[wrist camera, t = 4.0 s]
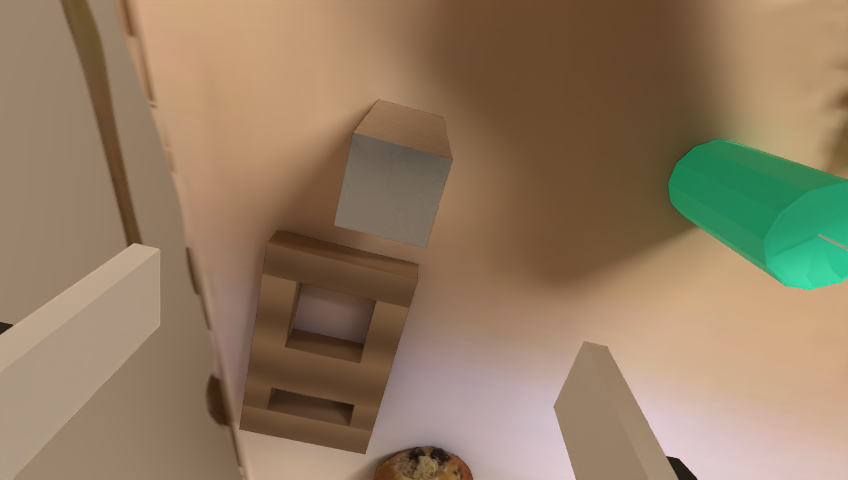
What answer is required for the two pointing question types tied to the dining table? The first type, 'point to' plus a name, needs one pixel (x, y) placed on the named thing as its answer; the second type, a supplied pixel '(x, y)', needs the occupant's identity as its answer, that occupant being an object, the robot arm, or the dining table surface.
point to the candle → (767, 210)
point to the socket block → (323, 344)
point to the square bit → (395, 174)
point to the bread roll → (424, 466)
